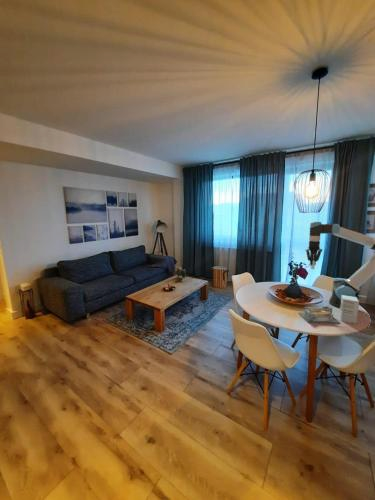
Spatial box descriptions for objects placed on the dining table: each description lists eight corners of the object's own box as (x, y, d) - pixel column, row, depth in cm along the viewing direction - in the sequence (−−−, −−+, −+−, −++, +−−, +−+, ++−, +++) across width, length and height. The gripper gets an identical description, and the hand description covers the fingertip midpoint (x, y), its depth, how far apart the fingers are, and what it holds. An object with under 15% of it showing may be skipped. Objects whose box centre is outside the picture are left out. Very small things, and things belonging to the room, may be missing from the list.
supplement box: (339, 315, 157) (341, 294, 155) (354, 318, 153) (356, 296, 150) (340, 321, 149) (342, 299, 147) (356, 324, 145) (359, 301, 142)
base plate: (327, 313, 161) (328, 304, 159) (340, 323, 146) (341, 313, 145) (298, 313, 162) (298, 304, 161) (307, 322, 148) (308, 313, 146)
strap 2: (310, 316, 149) (310, 314, 148) (308, 313, 152) (308, 312, 152) (331, 315, 147) (331, 313, 147) (328, 313, 150) (329, 311, 150)
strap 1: (326, 309, 158) (326, 308, 158) (328, 311, 155) (328, 309, 155) (306, 307, 159) (306, 306, 159) (308, 309, 156) (308, 308, 156)
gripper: (320, 240, 171) (317, 267, 174) (303, 240, 172) (302, 267, 175) (325, 241, 163) (323, 270, 167) (308, 241, 164) (306, 270, 168)
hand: (312, 268), depth 171 cm, fingers closed
